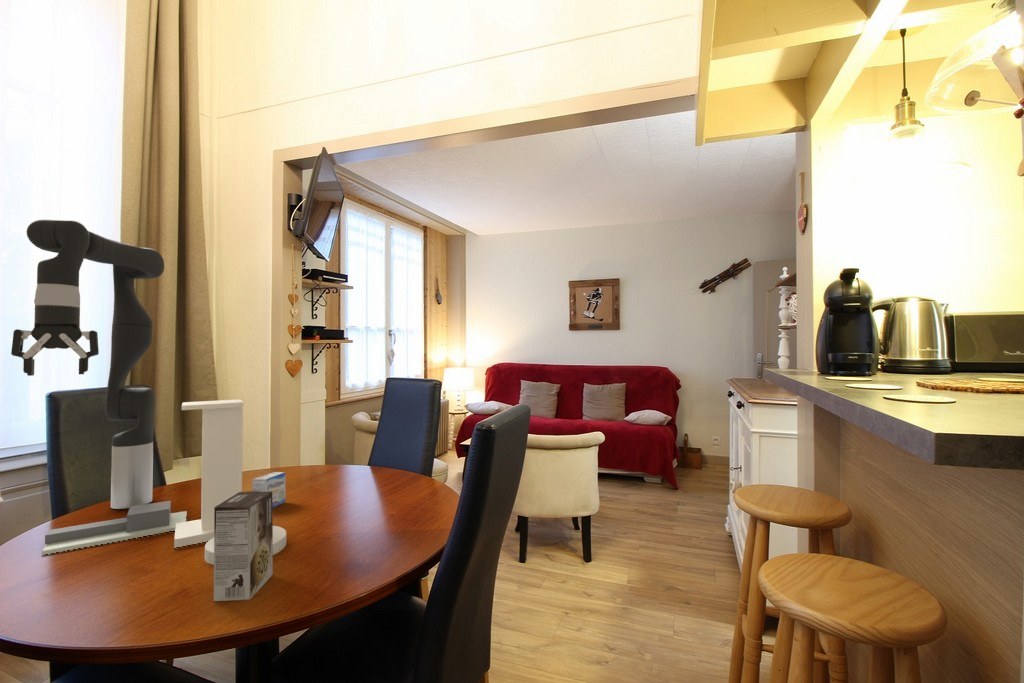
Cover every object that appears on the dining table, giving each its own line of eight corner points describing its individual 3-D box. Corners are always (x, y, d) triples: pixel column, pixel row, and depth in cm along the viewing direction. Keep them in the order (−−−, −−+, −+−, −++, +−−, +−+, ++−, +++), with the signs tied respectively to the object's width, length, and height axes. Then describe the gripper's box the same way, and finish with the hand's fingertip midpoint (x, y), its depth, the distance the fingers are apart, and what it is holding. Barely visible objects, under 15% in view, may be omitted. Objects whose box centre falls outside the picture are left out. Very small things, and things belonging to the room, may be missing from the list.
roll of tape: (300, 546, 102) (300, 533, 102) (225, 574, 89) (226, 559, 89) (263, 532, 111) (263, 520, 111) (191, 555, 98) (191, 541, 98)
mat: (56, 536, 109) (56, 532, 109) (186, 514, 123) (186, 510, 123) (42, 555, 98) (42, 550, 98) (186, 529, 112) (186, 525, 112)
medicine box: (266, 511, 125) (266, 479, 125) (251, 510, 126) (252, 478, 126) (285, 502, 133) (286, 472, 133) (272, 501, 133) (272, 471, 134)
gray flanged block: (51, 535, 106) (52, 518, 106) (170, 516, 119) (170, 500, 119) (42, 547, 100) (42, 528, 100) (169, 525, 112) (169, 508, 112)
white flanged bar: (175, 531, 111) (177, 402, 112) (243, 519, 119) (244, 398, 120) (174, 548, 101) (175, 406, 102) (247, 534, 109) (248, 402, 110)
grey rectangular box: (238, 576, 88) (239, 491, 88) (273, 575, 88) (274, 489, 89) (211, 602, 78) (212, 506, 79) (250, 600, 79) (251, 505, 79)
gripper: (101, 308, 115) (100, 373, 114) (19, 305, 107) (17, 375, 106) (96, 305, 108) (94, 374, 108) (8, 301, 100) (6, 376, 100)
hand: (56, 374), depth 107 cm, fingers open, 8 cm apart
